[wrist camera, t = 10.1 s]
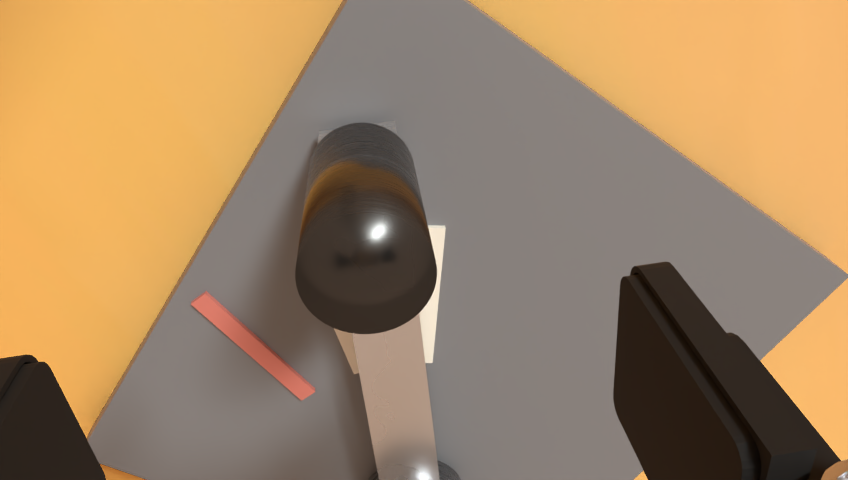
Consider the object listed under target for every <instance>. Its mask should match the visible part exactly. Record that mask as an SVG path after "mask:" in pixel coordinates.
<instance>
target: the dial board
mask: <svg viewBox="0 0 848 480" xmlns="http://www.w3.org/2000/svg"><path fill="white" fill-rule="evenodd" d="M389 121H395V126H396V131H397V136H399V137H400V138H401V139H402V140H403V141H404V143H405V144H406V146H407V147H408V149H409V151H410V153H411V155H412V158H413V161H414V166H415V170H416V175H417V179H418V184H419V188H420V193H421V197H422V202H423V206H424V211H425V215H426V219H427V224H428V228H429V233H430V237H431V242H432V246H433V251H434V255H435V260H436V265H437V280H436V285H435V289H434V292H433V294H432V296H431V298H430V300H429V301H428V303H427V305H426V306H425V307H424V308H423V310H422V311H421V312H420V313H419V316H420V324H421V332H422V340H423V348H424V356H425V364H426V373H427V381H428V389H429V397H430V405H431V413H432V421H433V430H434V438H435V446H436V454H437V460H438V461H441V462H443V463H445V464H447V465H449V466H450V467H451V468H453V469H454V470H455V471H456V472H457V473H458V475H459V477H460V479H461V480H633V479H635V478H636V477H637V476H638V475H639V474H640V473H641V472H642V471H643V468H642V466H641V464H640V462H639V460H638V458H637V456H636V454H635V452H634V449H633V447H632V445H631V443H630V441H629V439H628V437H627V435H626V433H625V431H624V429H623V427H622V425H621V423H620V421H619V419H618V416H617V414H616V410H615V406H614V400H613V389H614V373H615V358H616V342H617V326H618V310H619V294H620V282H621V279H622V277H624V276H630V272H631V269H632V268H633V267H634V266H639V265H646V264H652V263H659V262H670V263H671V264H672V265H673V266H674V267H675V269H676V270H677V271H678V272H679V274H680V275H681V276H682V277H683V279H684V280H685V281H686V283H687V284H688V285H689V286H690V288H691V289H692V290H693V291H694V293H695V294H696V295H697V296H698V298H699V299H700V300H701V302H702V303H703V304H704V305H705V307H706V308H707V309H708V310H709V312H710V313H711V314H712V315H713V317H714V318H715V319H716V321H717V322H718V323H719V324H720V326H721V327H722V328H723V329H724V331H725V332H726V333H730V332H731V333H734V334H736V335H738V336H739V337H740V338H741V339H742V340H743V341H744V342H745V343H746V344H747V346H748V347H749V348H750V349H751V351H752V352H753V353H754V354H755V356H756V357H757V358H758V359H759V360H761V359H762V358H763V357H764V356H765V355H766V354H767V353H768V352H769V351H771V350H772V349H773V348H774V347H775V346H776V345H777V344H778V343H779V342H780V341H781V340H782V339H783V338H784V337H785V336H786V335H787V334H789V333H790V332H791V331H792V330H793V329H794V328H795V327H796V326H797V325H798V324H799V323H800V322H801V321H802V320H803V319H804V318H806V317H807V316H808V315H809V314H810V313H811V312H812V311H813V310H814V309H815V308H816V307H817V306H818V305H819V304H820V303H821V302H823V301H824V300H825V299H826V298H827V297H828V296H829V295H830V294H831V293H832V292H833V291H834V290H835V289H836V288H837V287H838V286H840V285H841V284H842V283H843V282H844V281H845V280H846V279H847V278H848V274H847V273H845V272H844V271H843V270H842V269H841V268H839V267H838V266H837V265H836V264H834V263H833V262H832V261H831V260H829V259H828V258H827V257H826V256H824V255H823V254H821V253H820V252H819V251H817V250H816V249H814V248H813V247H812V246H810V245H809V244H807V243H806V242H805V241H803V240H802V239H800V238H799V237H798V236H796V235H795V234H793V233H792V232H791V231H789V230H788V229H786V228H785V227H784V226H782V225H781V224H779V223H778V222H777V221H775V220H774V219H772V218H771V217H770V216H768V215H767V214H765V213H764V212H763V211H761V210H760V209H758V208H757V207H756V206H754V205H753V204H751V203H750V202H749V201H747V200H746V199H745V198H743V197H742V196H740V195H739V194H738V193H736V192H735V191H733V190H732V189H731V188H729V187H728V186H726V185H725V184H724V183H722V182H721V181H719V180H718V179H717V178H715V177H714V176H712V175H711V174H710V173H708V172H707V171H705V170H704V169H703V168H701V167H700V166H698V165H697V164H696V163H694V162H693V161H691V160H690V159H689V158H687V157H686V156H684V155H683V154H682V153H680V152H679V151H677V150H676V149H675V148H673V147H672V146H670V145H669V144H668V143H666V142H665V141H663V140H662V139H661V138H659V137H658V136H656V135H655V134H654V133H652V132H651V131H649V130H648V129H647V128H645V127H644V126H643V125H641V124H640V123H638V122H637V121H636V120H634V119H633V118H631V117H630V116H629V115H627V114H626V113H624V112H623V111H622V110H620V109H619V108H617V107H616V106H615V105H613V104H612V103H610V102H609V101H608V100H606V99H605V98H603V97H602V96H601V95H599V94H598V93H596V92H595V91H594V90H592V89H591V88H589V87H588V86H587V85H585V84H584V83H582V82H581V81H580V80H578V79H577V78H575V77H574V76H573V75H571V74H570V73H568V72H567V71H566V70H564V69H563V68H561V67H560V66H559V65H557V64H556V63H554V62H553V61H552V60H550V59H549V58H548V57H546V56H545V55H543V54H542V53H541V52H539V51H538V50H536V49H535V48H534V47H532V46H531V45H529V44H528V43H527V42H525V41H524V40H522V39H521V38H520V37H518V36H517V35H515V34H514V33H513V32H511V31H510V30H508V29H507V28H506V27H504V26H503V25H501V24H500V23H499V22H497V21H496V20H494V19H493V18H492V17H490V16H489V15H487V14H486V13H485V12H483V11H482V10H480V9H479V8H478V7H476V6H475V5H473V4H472V3H471V2H469V1H468V0H343V1H342V3H341V5H340V7H339V8H338V10H337V12H336V13H335V15H334V17H333V18H332V20H331V22H330V24H329V25H328V27H327V29H326V30H325V32H324V34H323V35H322V37H321V39H320V41H319V42H318V44H317V46H316V47H315V49H314V51H313V52H312V54H311V56H310V58H309V59H308V61H307V63H306V64H305V66H304V68H303V69H302V71H301V73H300V75H299V76H298V78H297V80H296V81H295V83H294V85H293V86H292V88H291V90H290V92H289V93H288V95H287V97H286V98H285V100H284V102H283V103H282V105H281V107H280V109H279V110H278V112H277V114H276V115H275V117H274V119H273V120H272V122H271V124H270V126H269V127H268V129H267V131H266V132H265V134H264V136H263V137H262V139H261V141H260V143H259V144H258V146H257V148H256V149H255V151H254V153H253V154H252V156H251V158H250V160H249V161H248V163H247V165H246V166H245V168H244V170H243V171H242V173H241V175H240V177H239V178H238V180H237V182H236V183H235V185H234V187H233V188H232V190H231V192H230V194H229V195H228V197H227V199H226V200H225V202H224V204H223V205H222V207H221V209H220V211H219V212H218V214H217V216H216V217H215V219H214V221H213V223H212V224H211V226H210V228H209V229H208V231H207V233H206V234H205V236H204V238H203V240H202V241H201V243H200V245H199V246H198V248H197V250H196V251H195V253H194V255H193V257H192V258H191V260H190V262H189V263H188V265H187V267H186V268H185V270H184V272H183V274H182V275H181V277H180V279H179V280H178V282H177V284H176V285H175V287H174V289H173V291H172V292H171V294H170V296H169V297H168V299H167V301H166V302H165V304H164V306H163V308H162V309H161V311H160V313H159V314H158V316H157V318H156V319H155V321H154V323H153V325H152V326H151V328H150V330H149V331H148V333H147V335H146V336H145V338H144V340H143V342H142V343H141V345H140V347H139V348H138V350H137V352H136V353H135V355H134V357H133V359H132V360H131V362H130V364H129V365H128V367H127V369H126V370H125V372H124V374H123V376H122V377H121V379H120V381H119V382H118V384H117V386H116V387H115V389H114V391H113V393H112V394H111V396H110V398H109V399H108V401H107V403H106V404H105V406H104V408H103V410H102V411H101V413H100V415H99V416H98V418H97V420H96V421H95V423H94V425H93V427H92V428H91V430H90V432H89V434H88V437H87V441H88V443H89V445H90V446H91V448H92V450H93V452H94V454H95V456H96V458H97V460H98V462H99V463H100V464H103V465H106V466H109V467H112V468H114V469H117V470H120V471H123V472H126V473H129V474H132V475H135V476H138V477H141V478H144V479H146V480H369V478H370V477H371V476H372V475H373V474H374V473H375V472H376V471H377V466H376V461H375V455H374V450H373V445H372V439H371V434H370V429H369V423H368V418H367V412H366V407H365V402H364V396H363V391H362V386H361V380H360V375H359V369H358V364H357V359H356V353H355V348H354V343H353V337H352V333H348V332H344V331H340V330H338V329H335V328H332V327H330V326H328V325H326V324H325V323H323V322H322V321H320V320H319V319H317V318H316V317H315V316H314V315H313V314H312V313H311V312H310V311H309V310H308V309H307V308H306V306H305V305H304V303H303V302H302V300H301V298H300V296H299V293H298V290H297V287H296V281H295V269H296V261H297V254H298V246H299V239H300V231H301V224H302V216H303V209H304V201H305V194H306V187H307V179H308V172H309V165H310V160H311V156H312V154H313V152H314V149H315V148H316V146H317V145H318V136H319V130H325V129H333V128H339V127H341V126H344V125H347V124H351V123H361V122H362V123H372V124H373V123H381V122H389Z"/></svg>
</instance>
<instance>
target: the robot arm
mask: <svg viewBox="0 0 848 480" xmlns="http://www.w3.org/2000/svg"><path fill="white" fill-rule="evenodd" d="M613 400H614V406H615V410H616V414H617V416H618V419H619V421H620V423H621V425H622V427H623V429H624V431H625V433H626V435H627V437H628V439H629V441H630V443H631V445H632V447H633V449H634V452H635V454H636V456H637V458H638V460H639V462H640V464H641V466H642V468H643V470H644V472H645V474H646V476H647V478H648V480H848V460H844V461H841V460H840V459H839V458H838V457H837V455H836V454H835V453H834V452H833V450H832V449H831V448H830V447H829V445H828V444H827V443H826V442H825V441H824V439H823V438H822V437H821V436H820V434H819V433H818V432H817V431H816V429H815V428H814V427H813V426H812V425H811V423H810V422H809V421H808V420H807V418H806V417H805V416H804V415H803V413H802V412H801V411H800V410H799V408H798V407H797V406H796V405H795V404H794V402H793V401H792V400H791V399H790V397H789V396H788V395H787V394H786V392H785V391H784V390H783V389H782V388H781V386H780V385H779V384H778V383H777V381H776V380H775V379H774V378H773V376H772V375H771V374H770V373H769V372H768V370H767V369H766V368H765V367H764V365H763V364H762V363H761V362H760V360H759V359H758V358H757V357H756V356H755V354H754V353H753V352H752V351H751V349H750V348H749V347H748V346H747V344H746V343H745V342H744V341H743V340H742V339H741V338H740V337H739V336H738V335H736V334H734V333H731V332H730V333H726V332H725V331H724V329H723V328H722V327H721V326H720V324H719V323H718V322H717V321H716V319H715V318H714V317H713V315H712V314H711V313H710V312H709V310H708V309H707V308H706V307H705V305H704V304H703V303H702V302H701V300H700V299H699V298H698V296H697V295H696V294H695V293H694V291H693V290H692V289H691V288H690V286H689V285H688V284H687V283H686V281H685V280H684V279H683V277H682V276H681V275H680V274H679V272H678V271H677V270H676V269H675V267H674V266H673V265H672V264H671V263H670V262H659V263H652V264H646V265H639V266H634V267H633V268H632V269H631V272H630V276H624V277H622V279H621V282H620V294H619V310H618V326H617V342H616V358H615V373H614V389H613ZM0 480H106V478H105V474H104V472H103V470H102V468H101V466H100V464H99V462H98V460H97V458H96V456H95V454H94V452H93V450H92V448H91V446H90V445H89V443H88V441H87V439H86V437H85V435H84V433H83V431H82V429H81V427H80V425H79V423H78V421H77V419H76V417H75V415H74V413H73V411H72V409H71V407H70V406H69V404H68V402H67V400H66V398H65V396H64V394H63V392H62V390H61V388H60V386H59V384H58V382H57V380H56V378H55V376H54V374H53V372H52V370H51V368H50V367H49V366H48V364H46V363H45V362H38V361H37V359H36V358H35V357H33V356H32V355H21V356H14V357H7V358H1V359H0Z"/></svg>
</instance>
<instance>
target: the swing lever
mask: <svg viewBox="0 0 848 480" xmlns="http://www.w3.org/2000/svg"><path fill="white" fill-rule="evenodd" d="M436 280H437V265H436V260H435V255H434V251H433V246H432V242H431V237H430V233H429V228H428V224H427V219H426V215H425V211H424V206H423V202H422V197H421V193H420V188H419V184H418V179H417V175H416V170H415V166H414V161H413V158H412V155H411V153H410V151H409V149H408V147H407V146H406V144H405V143H404V141H403V140H402V139H401V138H400V137H399V136H397V131H396V126H395V121H389V122H381V123H373V124H372V123H362V122H361V123H351V124H347V125H344V126H341V127H339V128H333V129H325V130H319V136H318V145H317V146H316V148H315V149H314V152H313V154H312V156H311V160H310V165H309V172H308V179H307V187H306V194H305V201H304V209H303V216H302V224H301V231H300V239H299V246H298V254H297V261H296V269H295V281H296V287H297V290H298V293H299V296H300V298H301V300H302V302H303V303H304V305H305V306H306V308H307V309H308V310H309V311H310V312H311V313H312V314H313V315H314V316H315V317H316V318H317V319H319V320H320V321H322V322H323V323H325V324H326V325H328V326H330V327H332V328H335V329H338V330H340V331H344V332H348V333H352V337H353V343H354V348H355V353H356V359H357V364H358V369H359V375H360V380H361V386H362V391H363V396H364V402H365V407H366V412H367V418H368V423H369V429H370V434H371V439H372V445H373V450H374V455H375V461H376V466H377V471H376V472H375V473H374V474H373V475H372V476H371V477H370V478H369V480H461V479H460V477H459V475H458V473H457V472H456V471H455V470H454V469H453V468H451V467H450V466H449V465H447V464H445V463H443V462H441V461H438V460H437V454H436V446H435V438H434V430H433V421H432V413H431V405H430V397H429V389H428V381H427V373H426V364H425V356H424V348H423V340H422V332H421V324H420V316H419V313H420V312H421V311H422V310H423V308H424V307H425V306H426V305H427V303H428V301H429V300H430V298H431V296H432V294H433V292H434V289H435V285H436Z"/></svg>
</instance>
